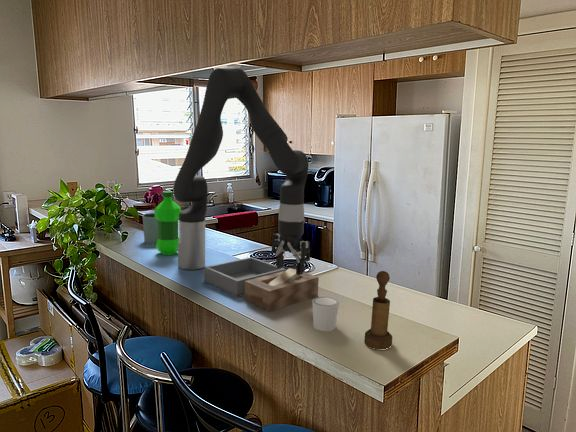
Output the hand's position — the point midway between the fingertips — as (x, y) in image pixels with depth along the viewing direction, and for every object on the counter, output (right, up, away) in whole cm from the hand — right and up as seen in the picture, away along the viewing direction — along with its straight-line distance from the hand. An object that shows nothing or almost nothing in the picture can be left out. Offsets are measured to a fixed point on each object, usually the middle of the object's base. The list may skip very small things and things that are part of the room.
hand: (289, 271), depth 134 cm
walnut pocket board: (-2, -8, 0) cm, 8 cm away
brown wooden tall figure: (+21, -14, -28) cm, 38 cm away
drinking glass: (-60, +5, +63) cm, 87 cm away
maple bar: (-2, -5, -1) cm, 5 cm away
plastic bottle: (-49, +1, +45) cm, 66 cm away
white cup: (+9, -12, -19) cm, 24 cm away
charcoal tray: (-15, -5, +12) cm, 20 cm away
